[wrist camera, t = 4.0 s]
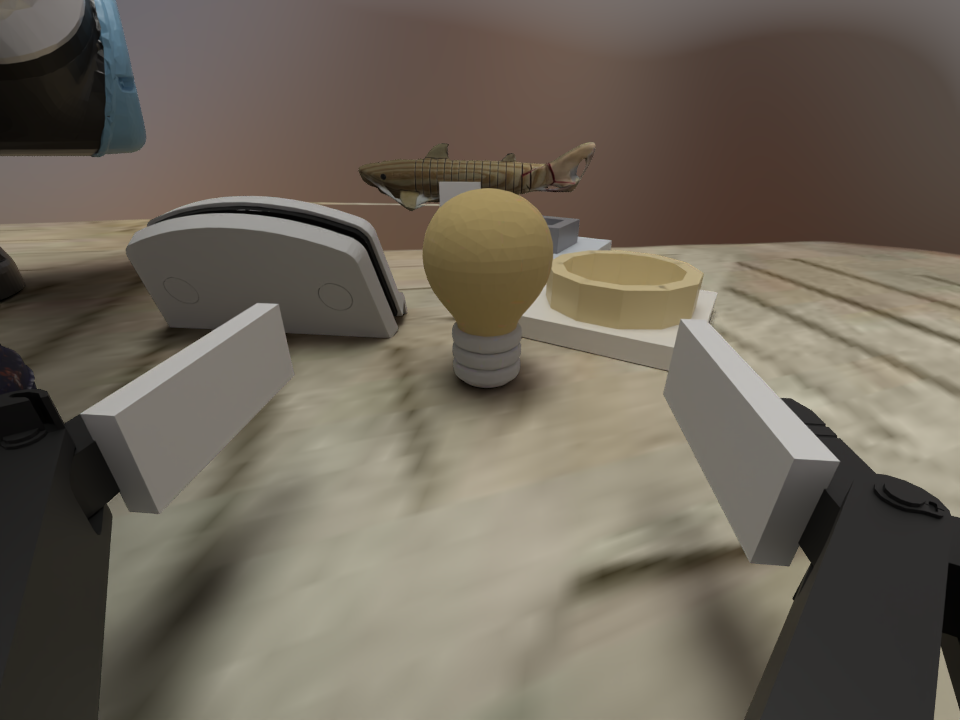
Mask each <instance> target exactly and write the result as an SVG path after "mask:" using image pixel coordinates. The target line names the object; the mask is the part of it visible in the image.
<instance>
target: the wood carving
mask: <svg viewBox="0 0 960 720" xmlns="http://www.w3.org/2000/svg"><path fill="white" fill-rule="evenodd" d="M447 147H448V144H444V143H442V144H438V145H437V146H435V147H433V149H431V150H430V152H429V153H428V154H427V156H426V157H425V158H424V159H418V160H401V159H397V160H391V161H383V162H381V163H379V162H378V163H370V164H365V165H363V166H361V167H359V173H360V175H361V177H362V179H363V181H364V182H366V183H367V184H368V185H370V186H373V187H376V188H378V190H379V191H380V192H381V193H383V194H386V195H388V196H390V197H391V198H393V199H394V200H396V201H397V202H398V203H399V204H401V205H402V206H403V207H405V208H406V209H408V210H410V211H413V210H415V209H417V208H419V207H422V206H419V205H421V204H423V203H426V202H440V207H441V206H442V205H443V204H444V203H446V202H447V201H448V200H450V199H451V198H453V197H455V196H457V195H459V194H461V193H464V192H467V191H470V190H476V189H483V188H493V189H500V190H505V191H509V192H512V193H514V194H517V195H519V194H525V193H528V192H533V191H547V192H571V191H573V190H574V189H575V188H576V186H577V185H578V183H579V181H580V179H581V178H582V176H583V174H584V173H585V171H586V169H587V168H588V166H589V164H590V162H591V160H592V157H593V155H594V152H595V148H596V146H595V143H593V142H588V143H585V144H582V145H579V146H578V147H576V148H574V149H572V150H571V151H569V152H567V153H566V154H564V155H562V156H560V157H559V158H558V159H556V160H554V161H552V162H550V163H546V164H533V163H519V162H517V161H515V155H514V154H513V153H511V154H507V155H506V157H505V158H504V159H503V160H501V161H488V160H487V161H486V160H485V161H478V160H477V161H473V160H470V161H465V160H462V161H460V160H453V161H452V160H450V159H449V157H448V149H447ZM583 159H585V160H586V167H585V169H584V171H583V174H582V175H581V178H579V177H578V176H577V175H576V172H577V168H578V165H579V163H580V162H581V161H582V160H583ZM548 186H556V187H559V188H557V189H544V188H548ZM424 206H425V205H424Z"/></svg>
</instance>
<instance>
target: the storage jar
mask: <svg viewBox="0 0 960 720" xmlns="http://www.w3.org/2000/svg"><path fill="white" fill-rule="evenodd" d="M34 379H35V377H34V374H33V371H32V370H31V369H30V368H29V367H28V366H27V365H25V364H24V362H23V360H22V358H21V357H20V355H18V354H17V353H16V352H15V351H14V350H11V349H9V348H6V347H4V346H1V344H0V395H1V394H5V393H9V392H13V391H19V390H25V389H37V388H36V385H35V382H34Z"/></svg>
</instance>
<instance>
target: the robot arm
mask: <svg viewBox="0 0 960 720" xmlns="http://www.w3.org/2000/svg"><path fill="white" fill-rule="evenodd" d="M145 142H146V131H145V126H144V121H143V116H142V112H141V107H140V103H139V98H138V94H137V90H136V86H135V82H134V76H133V72H132V68H131V63H130V58H129V53H128V49H127V45H126V40H125V36H124V32H123V28H122V24H121V19H120V16H119V12H118V8H117V3H116V0H0V156H92V157H101V156H104V155H105V154H118V153H132V152H136V151H138V150H140V149H141V148H142V147H143V145H144V144H145ZM24 286H25V282H24V280H23V278H22V276H21V274H20V272H19V270H18V268H17V266H16V264H15V262H14V261H13V259H12V258H11V257H10V256H9V255H8V254H7V253H6V252H5V251H4V250H3V249H2V248H1V247H0V300H2V299H5V298H7V297H9V296H11V295H13V294H15V293H17V292H18V291H20V290H21V289H22V288H23V287H24ZM293 376H294V371H293V366H292V362H291V357H290V353H289V348H288V344H287V339H286V335H285V330H284V326H283V321H282V317H281V312H280V308H279V304H268V303H257V304H255V305H253V306H252V307H250V308H249V309H247V310H245V311H244V312H242V313H240V314H239V315H237V316H236V317H234V318H232V319H231V320H229V321H228V322H226V323H224V324H223V325H221V326H220V327H218V328H216V329H215V330H213V331H212V332H210V333H208V334H207V335H205V336H204V337H202V338H200V339H199V340H197V341H196V342H194V343H192V344H191V345H189V346H188V347H186V348H184V349H183V350H181V351H180V352H178V353H176V354H175V355H173V356H172V357H170V358H168V359H167V360H165V361H164V362H162V363H160V364H159V365H157V366H156V367H154V368H152V369H151V370H149V371H148V372H146V373H144V374H143V375H141V376H140V377H138V378H136V379H135V380H133V381H132V382H130V383H128V384H127V385H125V386H124V387H122V388H120V389H119V390H117V391H116V392H114V393H112V394H111V395H109V396H108V397H106V398H104V399H103V400H101V401H100V402H98V403H96V404H95V405H93V406H92V407H90V408H88V409H87V410H85V411H84V412H82V413H80V414H79V415H78V416H76V417H74V418H73V419H71V420H70V421H68V422H66V423H65V424H64V422H63V420H62V419H61V417H60V415H59V413H58V411H57V409H56V407H55V405H54V404H53V402H52V400H51V398H50V396H49V394H48V392H47V391H44V390H41V389H25V390H19V391H13V392H9V393H5V394H1V395H0V720H98V709H99V695H100V681H101V667H102V653H103V639H104V626H105V612H106V598H107V584H108V570H109V556H110V542H111V528H112V514H111V511H110V509H109V507H108V505H107V503H108V502H109V501H110V500H111V499H112V498H113V497H114V496H116V495H117V494H118V493H119V492H120V494H121V496H122V498H123V500H124V502H125V504H126V506H127V508H128V510H129V511H130V512H142V513H154V514H160V513H161V512H162V511H163V510H164V509H165V508H166V507H167V506H168V505H169V504H170V503H171V502H172V501H173V500H174V499H175V498H176V497H177V496H178V495H179V493H180V492H181V491H182V490H183V489H184V488H185V487H186V486H187V485H188V484H189V483H190V482H191V481H192V480H193V479H194V478H195V477H196V476H197V475H198V474H199V473H200V472H201V471H202V470H203V469H204V468H205V467H206V466H207V465H208V464H209V463H210V462H211V461H212V459H213V458H214V457H215V456H216V455H217V454H218V453H219V452H220V451H221V450H222V449H223V448H224V447H225V446H226V445H227V444H228V443H229V442H230V441H231V440H232V439H233V438H234V437H235V436H236V435H237V434H238V433H239V432H240V431H241V430H242V429H243V428H244V426H245V425H246V424H247V423H248V422H249V421H250V420H251V419H252V418H253V417H254V416H255V415H256V414H257V413H258V412H259V411H260V410H261V409H262V408H263V407H264V406H265V405H266V404H267V403H268V402H269V401H270V400H271V399H272V398H273V397H274V396H275V395H276V394H277V392H278V391H279V390H280V389H281V388H282V387H283V386H284V385H285V384H286V383H287V382H288V381H289V380H290V379H291V378H292V377H293ZM663 395H664V397H665V399H666V401H667V402H668V404H669V406H670V408H671V410H672V412H673V414H674V416H675V418H676V420H677V422H678V424H679V426H680V428H681V430H682V432H683V434H684V436H685V437H686V439H687V441H688V443H689V445H690V447H691V449H692V451H693V453H694V455H695V457H696V459H697V461H698V463H699V465H700V467H701V469H702V471H703V472H704V474H705V476H706V478H707V480H708V482H709V484H710V486H711V488H712V490H713V492H714V494H715V496H716V498H717V500H718V502H719V504H720V506H721V507H722V509H723V511H724V513H725V515H726V517H727V519H728V521H729V523H730V525H731V527H732V529H733V531H734V533H735V535H736V537H737V539H738V541H739V542H740V544H741V546H742V548H743V550H744V552H745V554H746V556H747V558H748V560H749V562H750V563H755V564H767V565H779V566H790V564H791V562H792V560H793V558H794V555H795V553H796V551H797V549H798V547H799V545H800V547H801V548H802V550H803V551H804V553H805V554H806V556H807V557H808V559H809V560H810V562H811V564H810V566H809V568H808V570H807V571H806V573H805V575H804V577H803V579H802V581H801V583H800V585H799V587H798V589H797V591H796V593H795V595H794V597H793V598H792V599H793V600H794V602H793V604H792V607H791V609H790V611H789V614H788V616H787V619H786V621H785V623H784V626H783V628H782V631H781V633H780V635H779V638H778V640H777V642H776V645H775V647H774V650H773V652H772V654H771V657H770V659H769V662H768V664H767V666H766V669H765V671H764V674H763V676H762V678H761V681H760V683H759V686H758V688H757V690H756V693H755V695H754V697H753V700H752V702H751V705H750V707H749V709H748V712H747V714H746V717H745V719H744V720H934V710H935V699H936V689H937V678H938V668H939V657H940V647H941V648H942V651H943V655H944V658H945V661H946V665H947V668H948V672H949V675H950V678H951V682H952V685H953V689H954V692H955V696H956V699H957V702H958V706H959V709H960V518H958V517H954V516H951V514H950V511H949V510H948V509H947V508H946V507H945V506H944V505H943V503H942V502H941V501H940V500H939V499H937V498H936V497H934V496H933V495H931V494H930V493H928V492H927V491H925V490H924V489H922V488H920V487H918V486H916V485H913V484H911V483H909V482H907V481H905V480H901V479H898V478H895V477H892V476H888V475H883V474H876V473H875V472H874V471H873V470H872V469H871V468H870V467H869V466H868V465H867V464H866V463H865V462H864V461H863V460H862V459H861V458H859V457H858V456H857V455H856V454H855V453H854V452H853V451H852V450H851V449H850V448H849V447H848V446H847V445H846V444H845V443H844V442H843V441H842V440H841V439H840V438H837V435H836V434H835V433H834V432H833V431H832V430H831V429H830V428H829V427H826V426H825V425H826V424H825V423H824V422H823V421H822V420H821V419H820V418H819V417H818V416H817V415H816V414H815V413H814V412H813V411H811V410H810V409H808V408H806V407H805V406H803V405H801V404H800V403H798V402H796V401H794V400H793V399H790V398H780V397H779V396H778V395H777V394H776V393H775V392H774V391H773V390H772V389H771V388H770V387H769V386H768V385H767V384H766V383H765V382H764V381H763V380H762V378H761V377H760V376H759V375H758V374H757V373H756V372H755V371H754V370H753V369H752V368H751V367H750V366H749V365H748V364H747V363H746V362H745V361H744V359H743V358H742V357H741V356H740V355H739V354H738V353H737V352H736V351H735V350H734V349H733V348H732V347H731V346H730V345H729V344H728V343H727V342H726V340H725V339H724V338H723V337H722V336H721V335H720V334H719V333H718V332H717V331H716V330H715V329H714V328H713V327H712V326H711V325H710V324H709V323H708V322H707V320H697V319H680V323H679V327H678V332H677V336H676V340H675V345H674V349H673V354H672V358H671V362H670V367H669V371H668V376H667V380H666V384H665V389H664V393H663Z"/></svg>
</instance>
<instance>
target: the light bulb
mask: <svg viewBox="0 0 960 720" xmlns="http://www.w3.org/2000/svg"><path fill="white" fill-rule="evenodd" d="M552 262H553V242H552V238H551V233H550V230H549V227H548V225H547V223H546V221H545V219H544V218H543V216H542V215H541V213H540V212H539V211H538V209H537V208H536V207H534V206H533V205H532V204H531V203H530V202H529V201H527V200H526V199H524V198H522V197H521V196H519V195H517V194H514V193H512V192H509V191H505V190H500V189H493V188H483V189H476V190H470V191H467V192H464V193H461V194H459V195H457V196H455V197H453V198H451V199H450V200H448V201H447V202H446V203H444V204H443V205H442V206H441V207H440V208H439V209H438V211H437V212H436V213H435V215H434V217H433V218H432V219H431V221H430V224H429V225H428V228H427V231H426V234H425V238H424V243H423V264H424V269H425V272H426V276H427V279H428V281H429V284H430V286H431V288H432V290H433V291H434V293H435V294H436V296H437V297H438V298H439V300H440V301H441V302H442V304H443V305H444V306H445V307H446V308H447V310H448V311H449V312H450V313H451V314H452V315H453V317H454V318H455V320H456V323H455V324H454V325H453V328H452V337H453V341H454V343H453V355H454V360H453V368H454V372H455V374H456V375H457V376H458V377H459V378H460V379H461V380H463V381H464V382H466V383H468V384H470V385H472V386H476V387H482V388H494V387H499V386H502V385H504V384H506V383H508V382H509V381H511V380H513V379H514V378H515V377H516V376H517V375H518V373H519V370H520V358H519V357H520V355H521V344H520V341H521V337H522V328H521V326H520V324H519V323H518V321H519V319H520V318H521V316H522V315H523V314H524V313H525V312H526V311H527V310H528V308H529V307H530V306H531V305H532V304H533V303H534V301H535V300H536V299H537V298H538V296H539V295H540V293H541V292H542V290H543V288H544V287H545V285H546V283H547V281H548V278H549V275H550V272H551V268H552Z"/></svg>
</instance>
